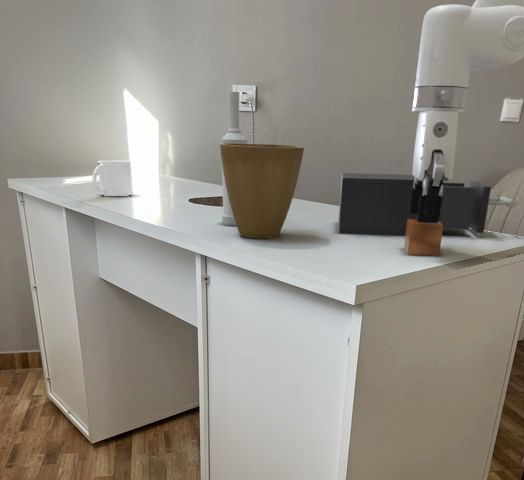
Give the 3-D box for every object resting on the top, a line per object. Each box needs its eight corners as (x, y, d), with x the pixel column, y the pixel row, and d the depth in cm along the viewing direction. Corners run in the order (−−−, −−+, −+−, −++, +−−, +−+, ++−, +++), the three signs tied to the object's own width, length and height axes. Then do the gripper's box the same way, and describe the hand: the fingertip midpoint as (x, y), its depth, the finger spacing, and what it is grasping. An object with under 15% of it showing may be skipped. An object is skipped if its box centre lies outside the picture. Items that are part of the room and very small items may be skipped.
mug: (123, 192, 167) (121, 160, 163) (138, 195, 160) (136, 161, 157) (85, 195, 159) (82, 161, 156) (99, 198, 153) (96, 162, 150)
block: (434, 249, 94) (438, 219, 92) (439, 256, 89) (443, 224, 87) (403, 248, 94) (407, 218, 92) (407, 254, 90) (411, 223, 88)
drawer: (498, 224, 115) (505, 182, 112) (515, 234, 104) (523, 187, 101) (403, 221, 117) (407, 179, 114) (410, 230, 106) (415, 184, 103)
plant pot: (233, 244, 95) (233, 145, 89) (212, 230, 108) (210, 142, 102) (313, 240, 100) (317, 146, 94) (283, 227, 113) (286, 143, 107)
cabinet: (408, 225, 118) (414, 174, 114) (416, 236, 106) (423, 180, 102) (338, 223, 119) (341, 173, 116) (338, 233, 108) (342, 177, 104)
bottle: (229, 221, 119) (228, 93, 110) (251, 223, 117) (252, 92, 108) (217, 224, 115) (215, 91, 105) (239, 226, 112) (239, 91, 103)
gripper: (478, 99, 75) (457, 227, 81) (453, 105, 91) (437, 212, 97) (421, 97, 76) (405, 224, 82) (406, 104, 92) (394, 210, 98)
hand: (422, 217), depth 90 cm, fingers open, 9 cm apart
